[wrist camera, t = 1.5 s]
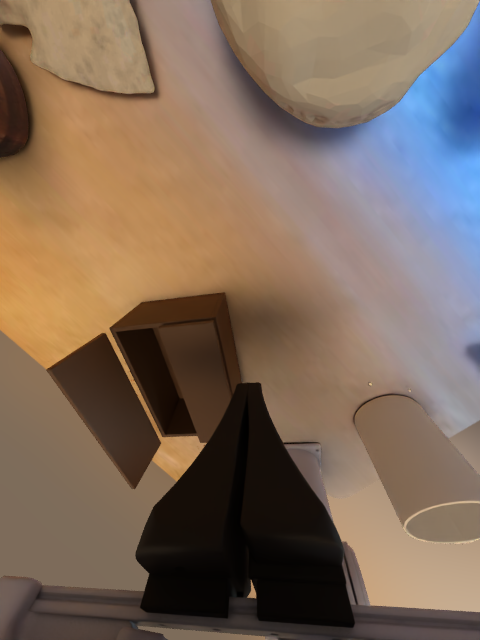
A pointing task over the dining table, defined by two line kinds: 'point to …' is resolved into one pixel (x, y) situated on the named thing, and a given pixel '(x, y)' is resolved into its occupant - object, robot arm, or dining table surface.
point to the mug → (421, 471)
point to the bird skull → (340, 51)
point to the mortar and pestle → (11, 111)
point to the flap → (108, 406)
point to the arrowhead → (85, 41)
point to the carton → (182, 361)
